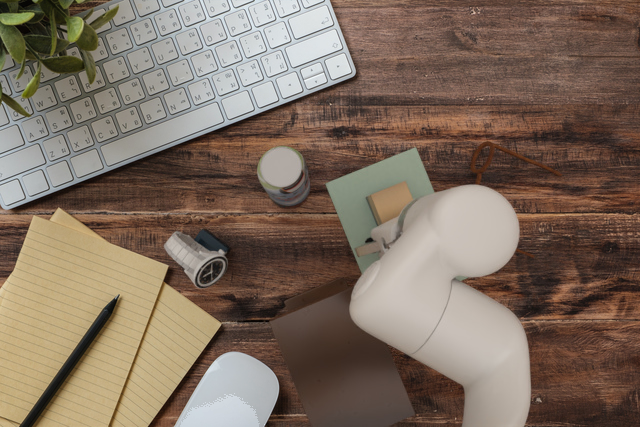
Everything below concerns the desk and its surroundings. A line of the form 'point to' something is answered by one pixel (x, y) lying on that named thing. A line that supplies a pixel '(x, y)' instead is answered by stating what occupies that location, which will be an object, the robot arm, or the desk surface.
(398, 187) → the tan wooden block
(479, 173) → the glasses
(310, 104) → the desk surface
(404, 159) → the mat
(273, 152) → the beverage can
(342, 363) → the pedestal
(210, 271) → the watch
